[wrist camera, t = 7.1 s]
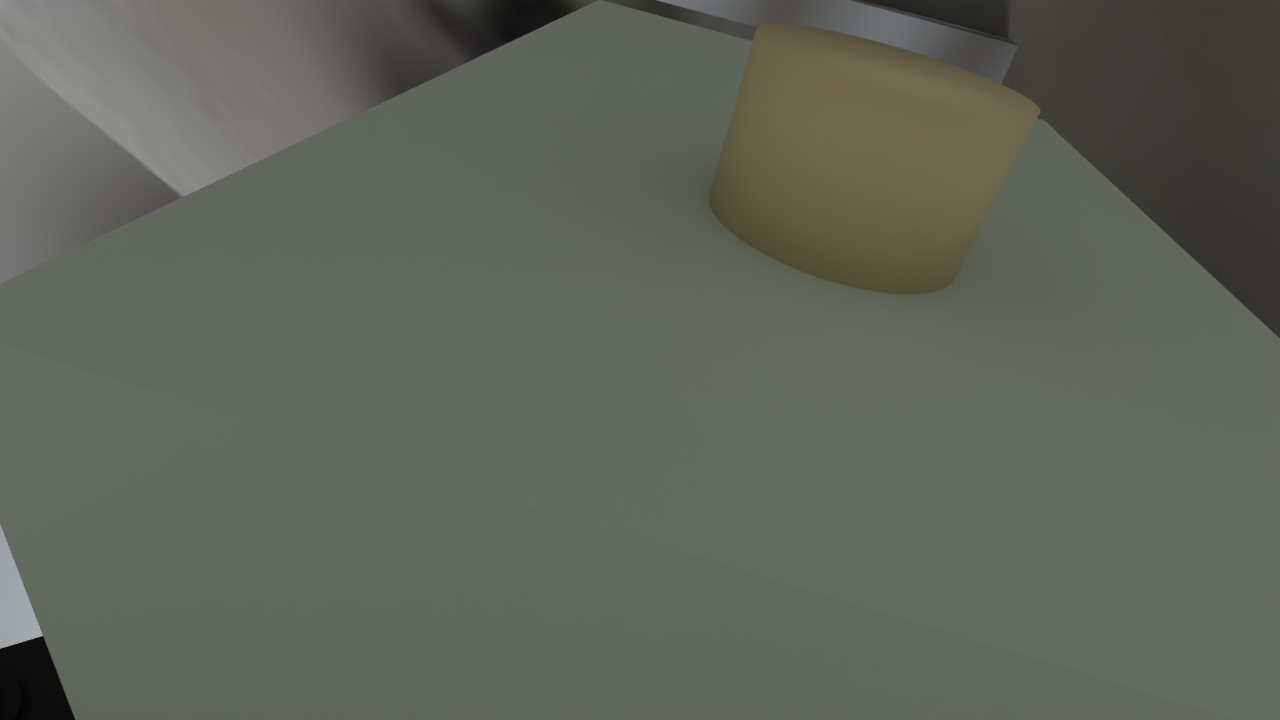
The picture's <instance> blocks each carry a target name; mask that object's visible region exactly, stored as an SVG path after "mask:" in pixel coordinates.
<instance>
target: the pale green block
mask: <svg viewBox="0 0 1280 720" xmlns="http://www.w3.org/2000/svg"><path fill="white" fill-rule="evenodd" d="M1039 113H1040V109H1039V107H1038V106H1037V105H1036V104H1035V103H1034V102H1032V101H1031V100H1030V99H1028V98H1027V97H1025V96H1023V95H1022V94H1020V93H1018V92H1016V91H1014V90H1012V89H1010V88H1008V87H1006V86H1004V85H1002V84H1000V83H998V82H995V81H993V80H991V79H988V78H986V77H984V76H981V75H979V74H976V73H974V72H971V71H968V70H966V69H963V68H960V67H958V66H955V65H952V64H949V63H946V62H943V61H940V60H937V59H934V58H932V57H928V56H925V55H922V54H919V53H916V52H912V51H909V50H906V49H902V48H899V47H895V46H892V45H888V44H885V43H881V42H877V41H873V40H869V39H866V38H861V37H857V36H853V35H849V34H844V33H840V32H835V31H830V30H825V29H819V28H813V27H807V26H800V25H791V24H763V25H760V26H758V27H757V28H756V31H755V35H754V38H753V41H750V40H747V39H743V38H739V37H735V36H732V35H728V34H724V33H721V32H717V31H713V30H710V29H706V28H702V27H699V26H695V25H691V24H688V23H684V22H680V21H677V20H673V19H669V18H665V17H662V16H658V15H654V14H651V13H647V12H643V11H640V10H636V9H632V8H629V7H625V6H621V5H618V4H614V3H610V2H607V1H603V0H598V1H596V2H594V3H592V4H589V5H587V6H585V7H583V8H581V9H579V10H577V11H575V12H573V13H571V14H568V15H566V16H564V17H562V18H560V19H558V20H556V21H554V22H552V23H549V24H547V25H545V26H543V27H541V28H539V29H537V30H535V31H533V32H530V33H528V34H526V35H524V36H522V37H520V38H518V39H516V40H514V41H511V42H509V43H507V44H505V45H503V46H501V47H499V48H497V49H495V50H492V51H490V52H488V53H486V54H484V55H482V56H480V57H478V58H476V59H473V60H471V61H469V62H467V63H465V64H463V65H461V66H459V67H457V68H455V69H452V70H450V71H448V72H446V73H444V74H442V75H440V76H438V77H436V78H433V79H431V80H429V81H427V82H425V83H423V84H421V85H419V86H417V87H414V88H412V89H410V90H408V91H406V92H404V93H402V94H400V95H398V96H395V97H393V98H391V99H389V100H387V101H385V102H383V103H381V104H379V105H376V106H374V107H372V108H370V109H368V110H366V111H364V112H362V113H360V114H357V115H355V116H353V117H351V118H349V119H347V120H345V121H343V122H341V123H339V124H336V125H334V126H332V127H330V128H328V129H326V130H324V131H322V132H320V133H317V134H315V135H313V136H311V137H309V138H307V139H305V140H303V141H301V142H298V143H296V144H294V145H292V146H290V147H288V148H286V149H284V150H282V151H279V152H277V153H275V154H273V155H271V156H269V157H267V158H265V159H263V160H260V161H258V162H256V163H254V164H252V165H250V166H248V167H246V168H244V169H241V170H239V171H237V172H235V173H233V174H231V175H229V176H227V177H225V178H223V179H220V180H218V181H216V182H214V183H212V184H210V185H208V186H206V187H204V188H201V189H199V190H197V191H195V192H193V193H191V194H189V195H187V196H185V197H182V198H180V199H178V200H176V201H174V202H172V203H170V204H168V205H166V206H164V207H161V208H159V209H157V210H155V211H153V212H151V213H149V214H147V215H144V216H142V217H140V218H139V219H136V220H134V221H132V222H130V223H128V224H125V225H123V226H121V227H119V228H117V229H115V230H113V231H111V232H109V233H107V234H104V235H103V236H100V237H98V238H96V239H94V240H92V241H90V242H88V243H86V244H83V245H82V246H79V247H77V248H75V249H73V250H71V251H69V252H66V253H64V254H62V255H60V256H58V257H56V258H54V259H52V260H50V261H48V262H45V263H43V264H41V265H39V266H37V267H35V268H33V269H31V270H28V271H26V272H24V273H22V274H20V275H18V276H16V277H14V278H12V279H10V280H7V281H5V282H3V283H1V284H0V524H1V527H2V529H3V532H4V534H5V537H6V540H7V542H8V545H9V547H10V550H11V553H12V555H13V558H14V560H15V563H16V566H17V568H18V571H19V574H20V576H21V579H22V582H23V584H24V587H25V589H26V592H27V594H28V597H29V600H30V602H31V605H32V608H33V610H34V613H35V616H36V618H37V621H38V623H39V626H40V629H41V631H42V634H43V636H44V639H45V642H46V644H47V647H48V650H49V652H50V655H51V657H52V660H53V663H54V665H55V668H56V670H57V673H58V676H59V678H60V681H61V683H62V686H63V689H64V691H65V694H66V697H67V699H68V702H69V704H70V707H71V710H72V712H73V715H74V717H75V720H1280V338H1279V337H1278V336H1277V335H1276V334H1274V333H1273V332H1272V331H1271V330H1270V329H1269V328H1268V327H1267V326H1266V325H1265V324H1264V323H1263V322H1262V321H1260V320H1259V319H1258V318H1257V317H1256V316H1255V315H1254V314H1253V313H1252V312H1251V311H1250V310H1249V309H1247V308H1246V307H1245V306H1244V305H1243V304H1242V303H1241V302H1240V301H1239V300H1238V299H1237V298H1236V297H1234V296H1233V295H1232V294H1231V293H1230V292H1229V291H1228V290H1227V289H1226V288H1225V287H1224V286H1223V285H1222V284H1220V283H1219V282H1218V281H1217V280H1216V279H1215V278H1214V277H1213V276H1212V275H1211V274H1210V273H1209V272H1207V271H1206V270H1205V269H1204V268H1203V267H1202V266H1201V265H1200V264H1199V263H1198V262H1197V261H1196V260H1195V259H1193V258H1192V257H1191V256H1190V255H1189V254H1188V253H1187V252H1186V251H1185V250H1184V249H1183V248H1182V247H1180V246H1179V245H1178V244H1177V243H1176V242H1175V241H1174V240H1173V239H1172V238H1171V237H1170V236H1169V235H1167V234H1166V233H1165V232H1164V231H1163V230H1162V229H1161V228H1160V227H1159V226H1158V225H1157V224H1156V223H1155V222H1153V221H1152V220H1151V219H1150V218H1149V217H1148V216H1147V215H1146V214H1145V213H1144V212H1143V211H1142V210H1140V209H1139V208H1138V207H1137V206H1136V205H1135V204H1134V203H1133V202H1132V201H1131V200H1130V199H1129V198H1128V197H1126V196H1125V195H1124V194H1123V193H1122V192H1121V191H1120V190H1119V189H1118V188H1117V187H1116V186H1115V185H1113V184H1112V183H1111V182H1110V181H1109V180H1108V179H1107V178H1106V177H1105V176H1104V175H1103V174H1102V173H1100V172H1099V171H1098V170H1097V169H1096V168H1095V167H1094V166H1093V165H1092V164H1091V163H1090V162H1089V161H1088V160H1086V159H1085V158H1084V157H1083V156H1082V155H1081V154H1080V153H1079V152H1078V151H1077V150H1076V149H1075V148H1073V147H1072V146H1071V145H1070V144H1069V143H1068V142H1067V141H1066V140H1065V139H1064V138H1063V137H1062V136H1061V135H1059V134H1058V133H1057V132H1056V131H1055V130H1054V129H1053V128H1052V127H1051V126H1050V125H1049V124H1048V123H1046V122H1045V121H1044V120H1041V119H1038V118H1037V117H1038V115H1039Z"/></svg>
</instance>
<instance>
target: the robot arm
mask: <svg viewBox="0 0 1280 720" xmlns="http://www.w3.org/2000/svg"><path fill="white" fill-rule="evenodd" d="M0 720H75V717H74V715H73V712H72V710H71V707H70V704H69V702H68V699H67V697H66V694H65V691H64V689H63V686H62V683H61V681H60V678H59V676H58V673H57V670H56V668H55V665H54V663H53V660H52V657H51V655H50V652H49V650H48V647H47V644H46V642H45V639H44V636H41V637H38V638H35V639H32V640H28V641H25V642H22V643H18V644H15V645H11V646H8V647H5V648H1V649H0Z"/></svg>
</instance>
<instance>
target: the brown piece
mask: <svg viewBox="0 0 1280 720" xmlns="http://www.w3.org/2000/svg"><path fill="white" fill-rule="evenodd" d="M658 1H661V2H665V3H669V4H672V5H676V6H680V7H684V8H687V9H691V10H695V11H698V12H702V13H706V14H709V15H713V16H717V17H720V18H724V19H728V20H731V21H735V22H739V23H742V24H746V25H750V26H754V27H758V26H760V25H763V24H791V25H800V26H807V27H813V28H819V29H825V30H830V31H835V32H840V33H844V34H849V35H853V36H857V37H861V38H866V39H869V40H873V41H877V42H881V43H885V44H888V45H892V46H895V47H899V48H902V49H906V50H909V51H912V52H916V53H919V54H922V55H925V56H928V57H932V58H934V59H937V60H940V61H943V62H946V63H949V64H952V65H955V66H958V67H960V68H963V69H966V70H968V71H971V72H974V73H976V74H979V75H981V76H984V77H986V78H988V79H991V80H993V81H995V82H998V83H1000V84H1001V83H1002V81H1003V79H1004V77H1005V75H1006V73H1007V71H1008V68H1009V66H1010V64H1011V62H1012V60H1013V58H1014V56H1015V54H1016V52H1017V49H1018V47H1019V45H1017V44H1016V43H1014V42H1013V41H1011V40H1010V39H1008V38H1004V37H1000V36H997V35H993V34H989V33H985V32H982V31H978V30H974V29H970V28H967V27H963V26H959V25H956V24H952V23H948V22H944V21H941V20H937V19H933V18H929V17H926V16H922V15H918V14H915V13H911V12H907V11H903V10H900V9H896V8H892V7H888V6H885V5H881V4H877V3H873V2H870V1H866V0H658Z"/></svg>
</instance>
